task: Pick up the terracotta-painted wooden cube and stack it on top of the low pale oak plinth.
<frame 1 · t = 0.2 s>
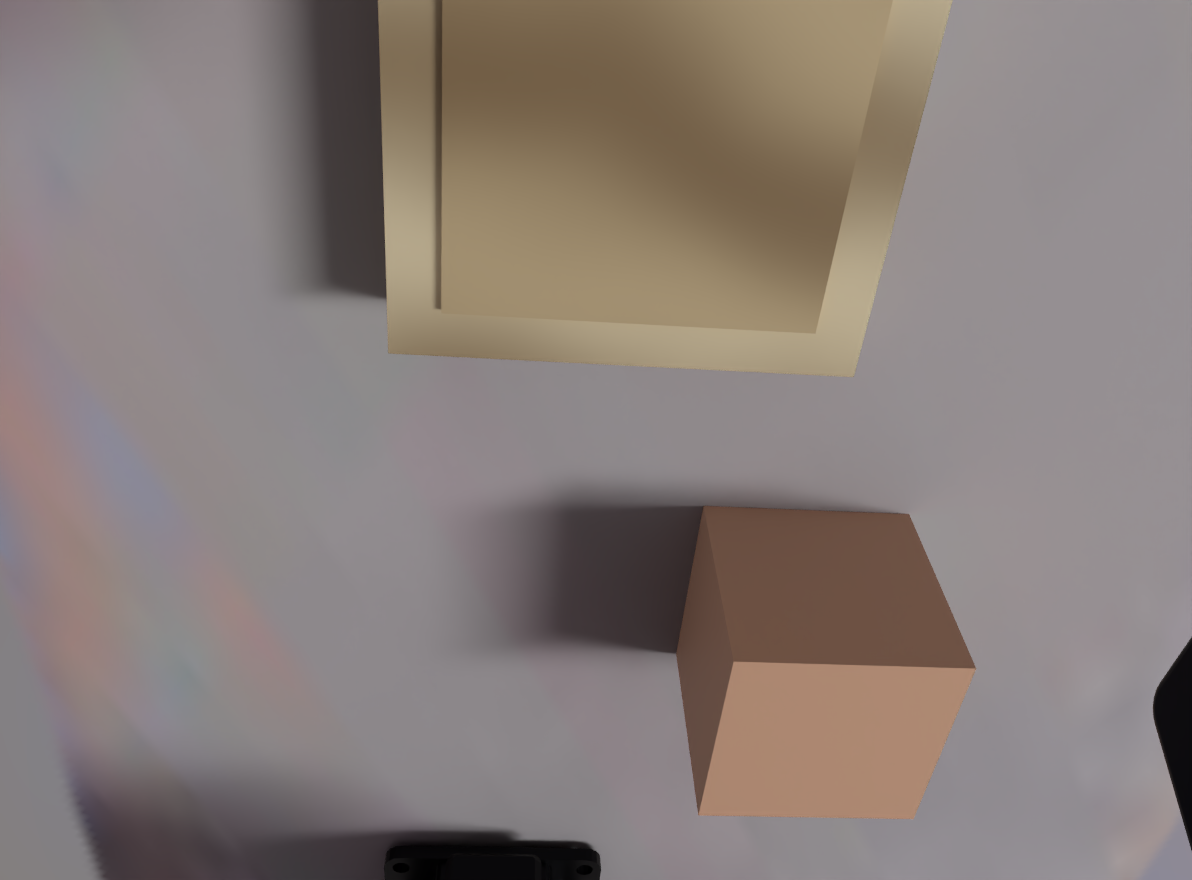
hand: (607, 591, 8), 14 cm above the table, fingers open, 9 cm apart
plinth: (642, 98, 20), on the table
cube: (786, 585, 27), on the table
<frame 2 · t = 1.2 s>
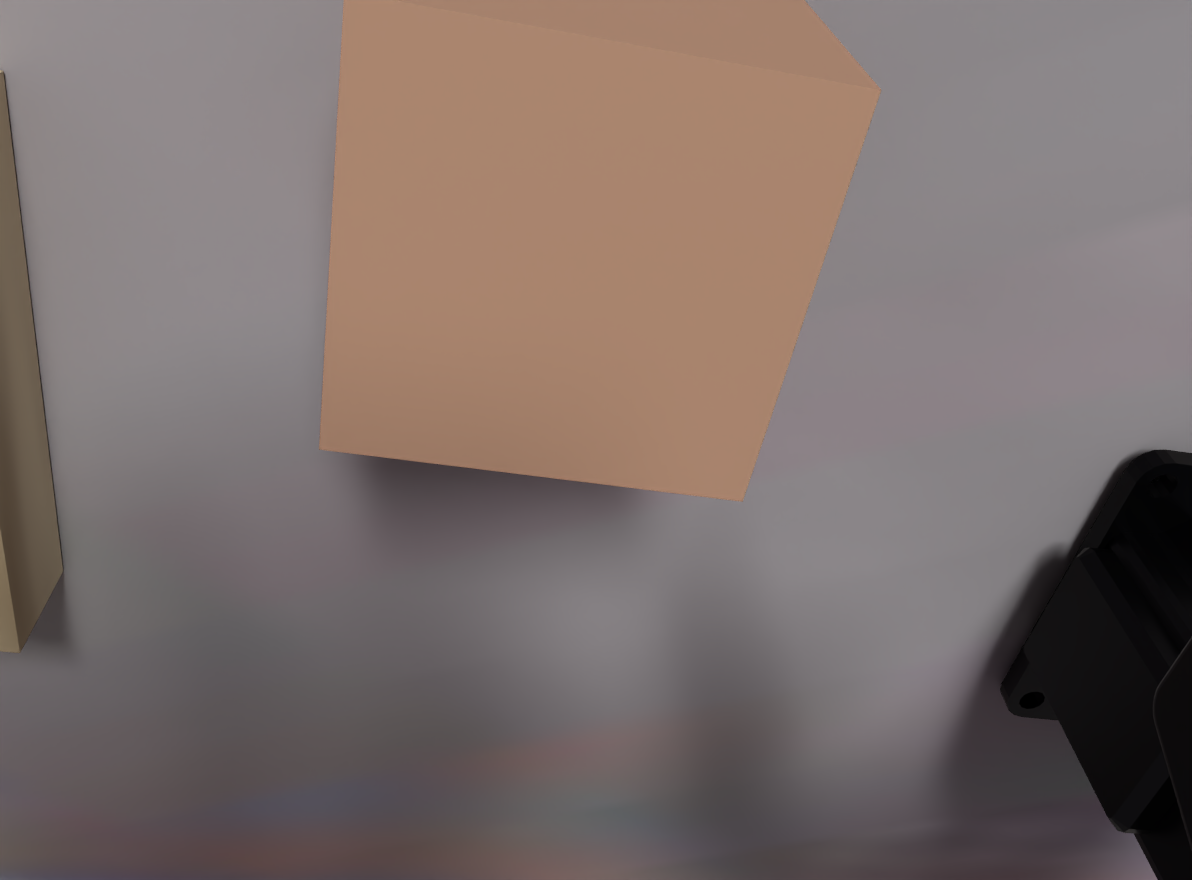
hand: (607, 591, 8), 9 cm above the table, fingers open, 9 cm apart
cube: (563, 125, 15), on the table
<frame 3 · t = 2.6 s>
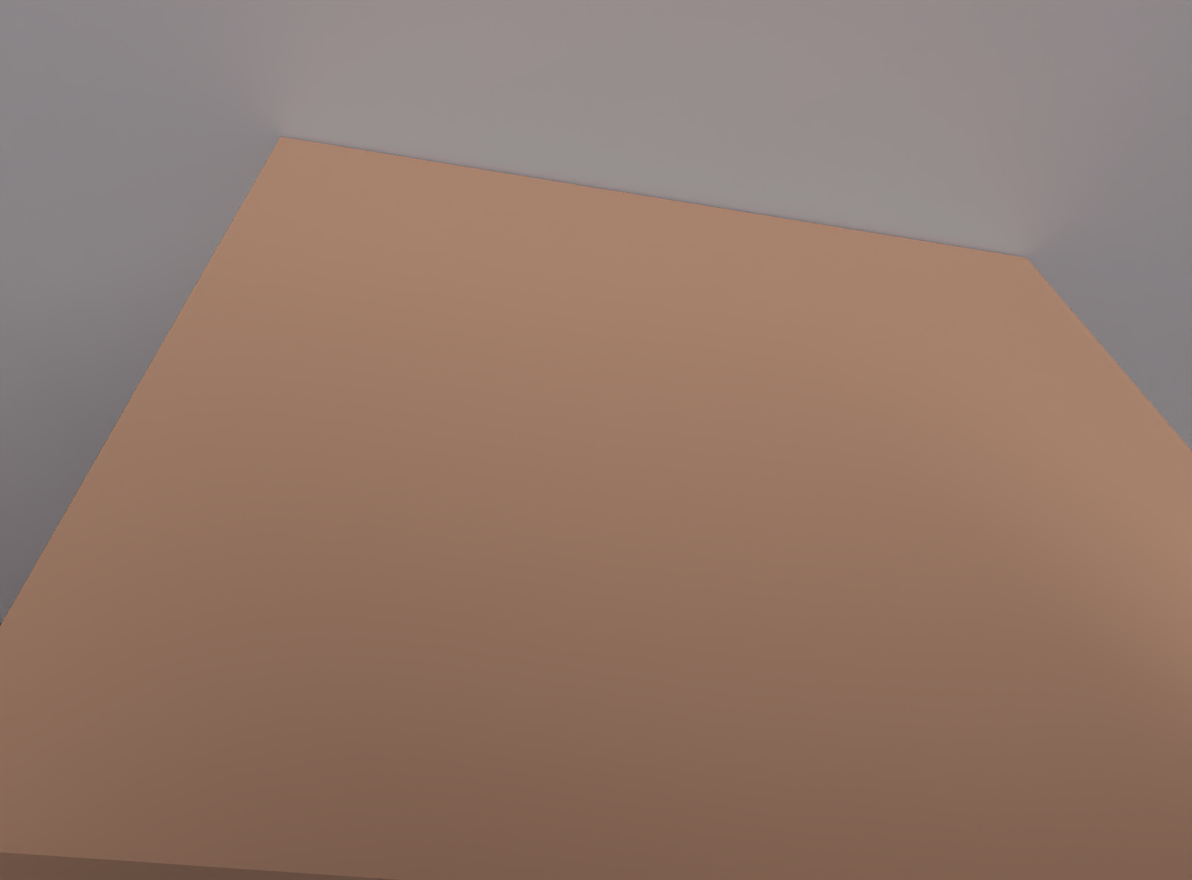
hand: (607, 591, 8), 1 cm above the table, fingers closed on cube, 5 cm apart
cube: (600, 499, 8), on the table, touching gripper
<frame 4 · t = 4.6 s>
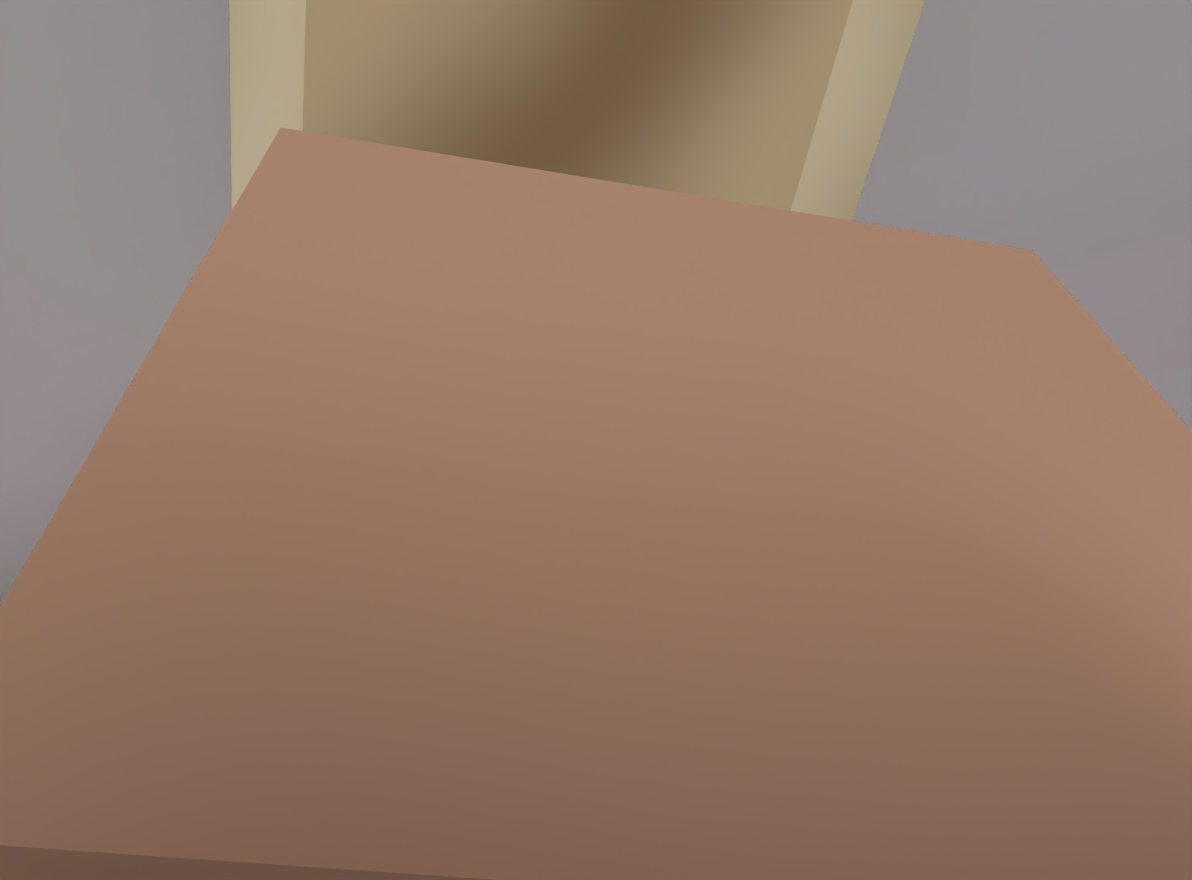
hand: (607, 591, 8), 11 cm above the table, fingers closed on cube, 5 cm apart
plinth: (554, 115, 17), on the table
cube: (603, 494, 8), point 10 cm above the table, touching gripper
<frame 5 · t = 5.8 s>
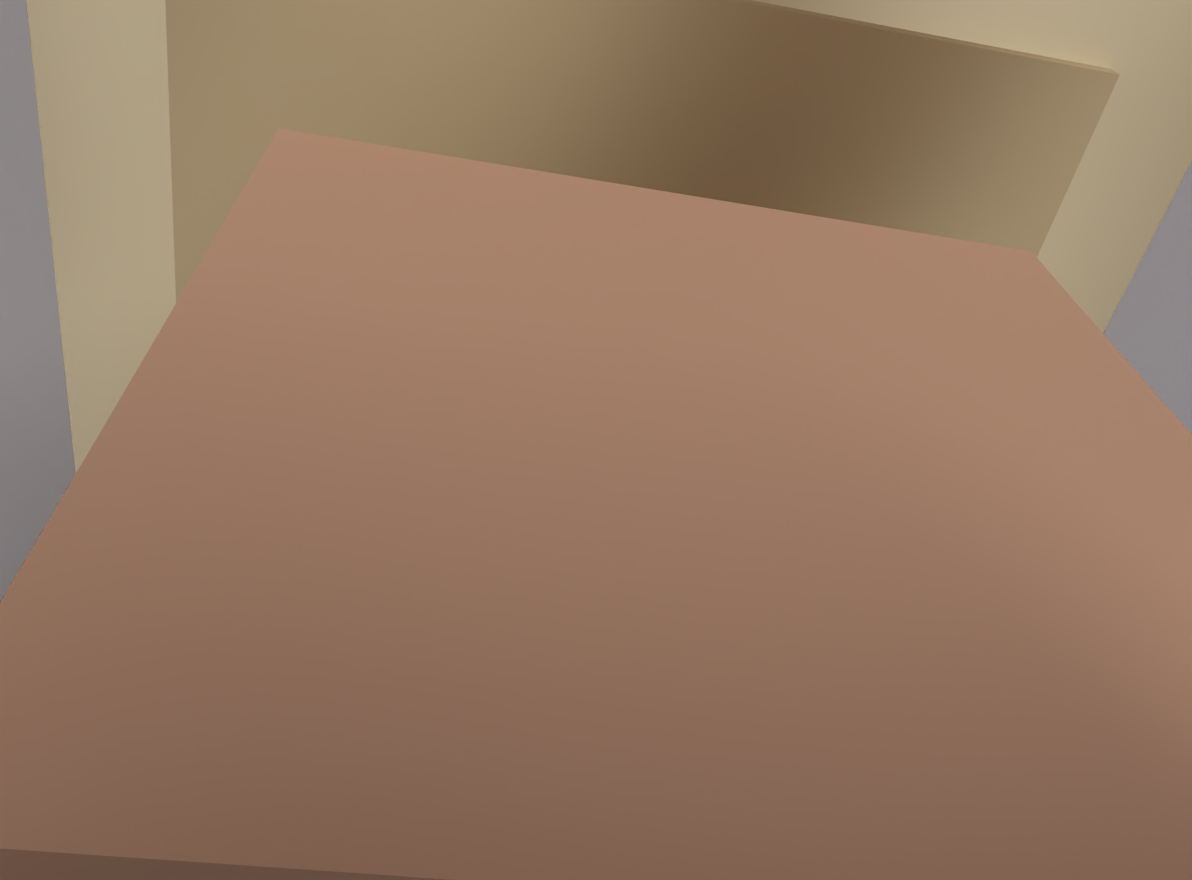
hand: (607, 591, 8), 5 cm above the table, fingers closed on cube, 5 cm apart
plinth: (576, 288, 11), on the table
cube: (601, 495, 8), point 4 cm above the table, touching gripper
when the fingers open (4 cm above the table, at t = 6.7 s): cube stays where it is, resting on plinth.
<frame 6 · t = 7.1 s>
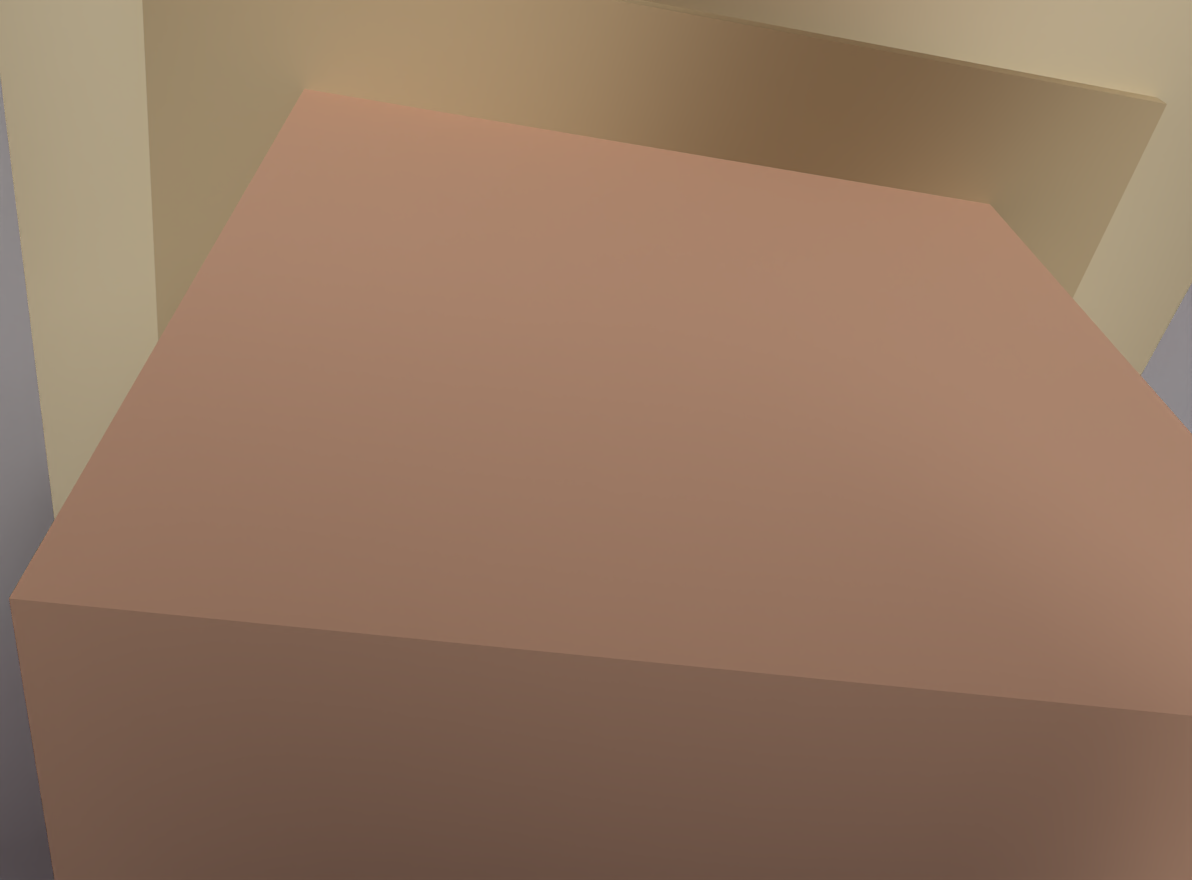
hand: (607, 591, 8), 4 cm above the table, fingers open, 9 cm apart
plinth: (582, 319, 11), on the table
cube: (597, 435, 9), point 2 cm above the table, touching plinth
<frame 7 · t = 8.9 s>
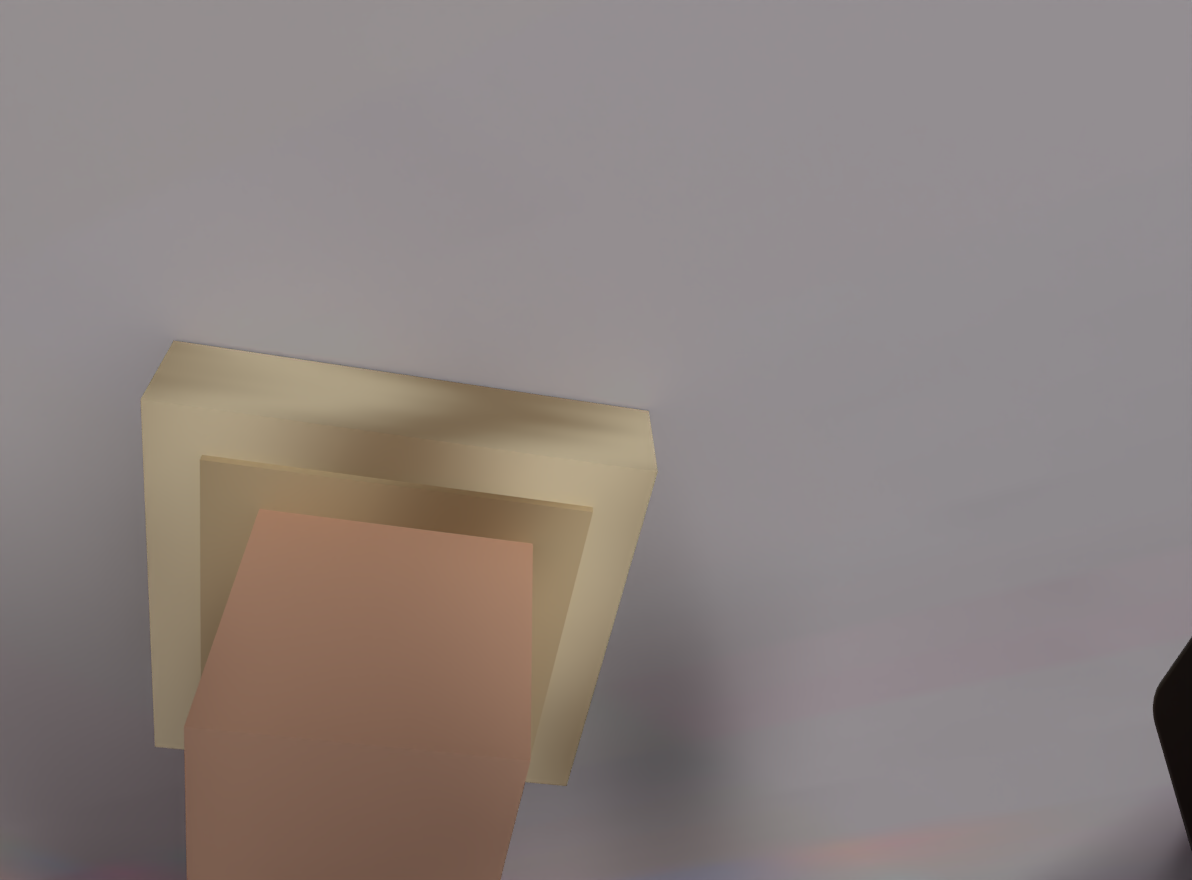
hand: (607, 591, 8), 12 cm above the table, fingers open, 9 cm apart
plinth: (396, 554, 23), on the table
cube: (386, 623, 21), point 2 cm above the table, touching plinth
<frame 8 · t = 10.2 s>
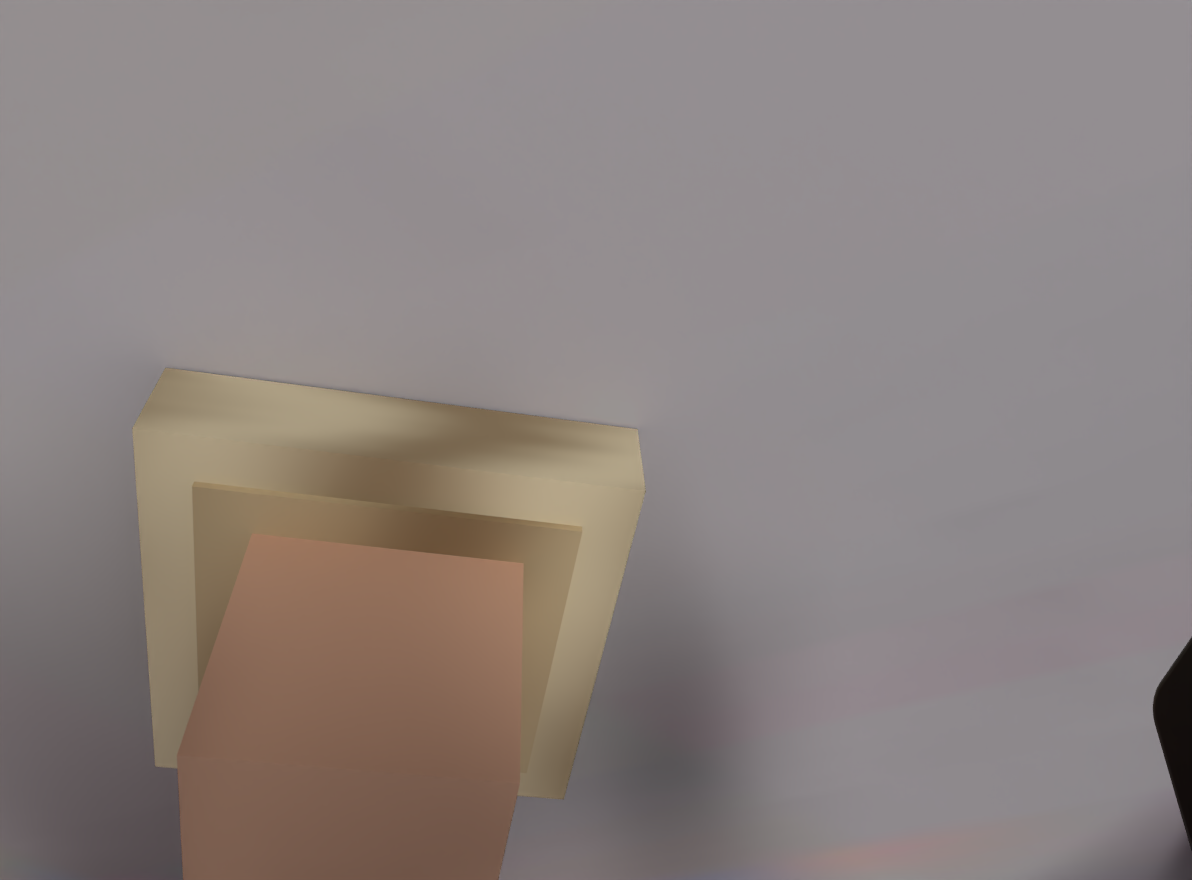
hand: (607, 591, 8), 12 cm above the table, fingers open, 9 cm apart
plinth: (390, 573, 23), on the table
cube: (380, 643, 21), point 2 cm above the table, touching plinth
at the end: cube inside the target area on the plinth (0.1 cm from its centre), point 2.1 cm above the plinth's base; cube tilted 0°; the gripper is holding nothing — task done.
